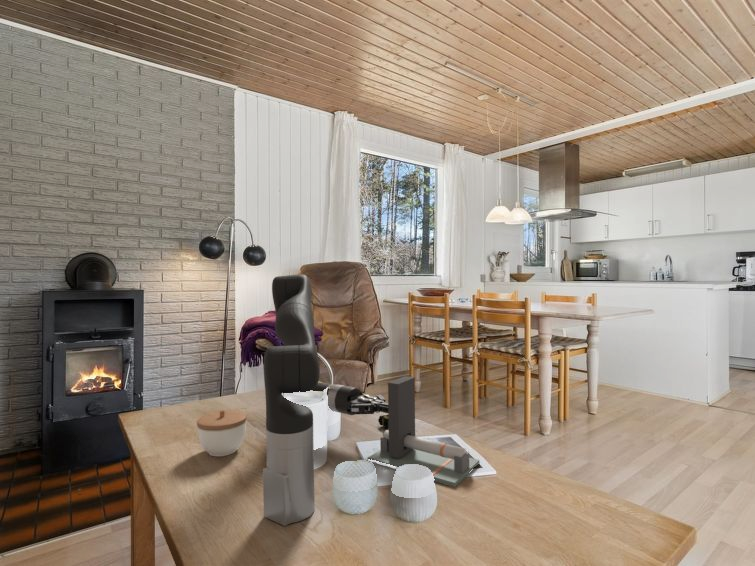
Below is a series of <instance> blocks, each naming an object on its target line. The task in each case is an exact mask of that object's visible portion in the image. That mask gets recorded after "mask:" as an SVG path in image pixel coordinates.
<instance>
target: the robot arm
mask: <svg viewBox="0 0 755 566" xmlns="http://www.w3.org/2000/svg"><path fill="white" fill-rule="evenodd" d="M312 291H313V289H312V283H311V281H310V279H309V277H308V276H307V275H305V274H289V275H279V276H275V277H274V278H273V280H272V283H271V293H272V300H273V305H274V310H275V314H276V315H275V324H274V330H275V335H276V337H277V338H278V340H279V341H280V342H281V343H282V344H283V345H276V346H275V345H274V346H270V347H268V348H266V351H265V353H264V356H263V379H264V391H265V392H264V393H265V394H264V395H265V415H266V416H265V418H266V419H265V428H266V431H265V433H266V439H265V440H266V467H264V468H263V469H262V487H263V488H262V492H263V494H262V495H263V499H262V500H263V517H264V518H266V519H269V520H271V521H272V522H275V523H278V524H279V525H281V526H283V527H284V526H285V527H286V526H288V525H291V524H293V523H299V522H302V521H304V520H306V519H308V518H309V517H310V516H312V515H313V514H314V512H315V501H316V500H315V462H314V461H315V457H314V456H315V454H314V452H315V451H314V448H315V447H314V446H315V445H314V414H313V411H312V409H311V408H310V407H306V406H303V405H299V404H296V403H293V402H291V401H289V400H287V399H286V398H284V393H293V392H299V391H300V392H306V391H310V390H313V391H323V390H324V389H326V388H327V387H330V389H329V394H328V406H329V408H330V409H331V410H332V411H333V412H336V413H339V414H340V413H341V414H343V415H349V416H354V415H374V414H375V413H383V414H384V413H385V414H388V402H386V398H385V396H383V395H381V394H380V393H376V394H375V396H371V395H370V394H367V393H366V394H365V393H364V394H363V392H362V391H361V389H360V388H358V387H354V386H351V385H350V386H348V385H343V384H338V383H337V384H334V383H333V384H332V383H327V382H319V380H320V374H321V373H320V372H321V368H320V367H321V366H320V360H319V359H320V358H319V353H318V349H317V346H316V340H315V339H316V338H315V322H314V321H315V320H314V314H313V309H312V301H313V300H312V299H313V297H312V296H313V295H312V294H313V293H312ZM331 410H330V411H331Z"/></svg>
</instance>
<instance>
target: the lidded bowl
mask: <svg viewBox="0 0 755 566" xmlns="http://www.w3.org/2000/svg"><path fill="white" fill-rule="evenodd" d="M247 419H248V418H247V413H245V412H243V411H240V410H225V409H220V410H219V411H215V412H210V413H208V414H207V413H206V414H204V415H202V416H200V417H198V419H197V421H196V427H197V435H198V436H197V437H198V441H199V444H200V445H201V447H202V449H203V450H204V451H206V452H207V453H208V455H209V456H211V457H217V458H218V457H226V456H230V455H232V454H234V453H236V452H237V450H238V448H239V447H240V446H241V445H242V444H243V442H244V440H245V437H246V433H247V432H246V431H247Z"/></svg>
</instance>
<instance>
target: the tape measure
mask: <svg viewBox="0 0 755 566" xmlns="http://www.w3.org/2000/svg"><path fill="white" fill-rule="evenodd" d="M377 421H378V423H379V425H380V426H382V427H383V428H384V429H385V430H389V417H388V414H383V415H379V418H378V419H377Z"/></svg>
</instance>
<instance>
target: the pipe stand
mask: <svg viewBox="0 0 755 566" xmlns="http://www.w3.org/2000/svg"><path fill="white" fill-rule="evenodd" d="M379 441H380V444H379V445H380V449H379V450H378V451H376V452H374V453H373V454H371V455H369V456H367V460H368V459H370V460H371V459H372V460H376V461H379V462H382V463H386V464H390V465H393V466H397V467H399V466H402V465H404V464H419V465H423V466H426V467H428V468H429V469H430V470H431V472H432V473H433V476H434V479H435V481H434V482H436V483H439V484H443V485H444V486H445V485H446V486H450V487H452V488H456V487H457V486H458V485H459V484H460V483H461V482H462V481H464V479H466V478H467V476H469V475H470V474H469V472H470V471H471V470H472V469H473V468H474V467H475V466H477V465H478V463H479V464H480V459H476V458H472V457H470V452H469V451H467V449H466V448H465V447H460V446H456V445H452V444H448V443H447V442H439V441H435V440H431V439H426V438H421V437H419V436H416V435H415V436H411V435H405V436H404V447H407V448H411V449H413V450H411V451H410V452H408V453H407V454H405V455H404V456H402V457H401V458H395V457H391V456H389V429H385V431H384V432H383V435H382V436H381V437H380V440H379ZM478 466H479V465H478ZM478 466H477V467H478ZM468 474H469V475H468Z"/></svg>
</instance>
